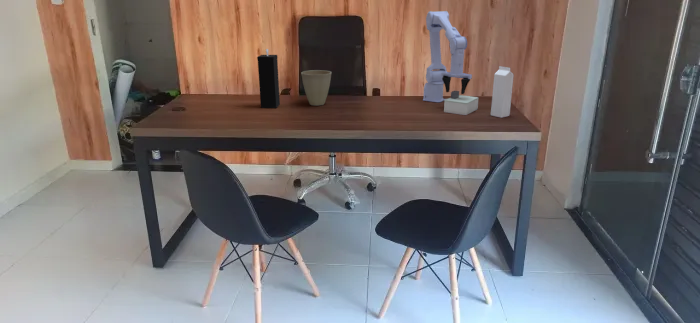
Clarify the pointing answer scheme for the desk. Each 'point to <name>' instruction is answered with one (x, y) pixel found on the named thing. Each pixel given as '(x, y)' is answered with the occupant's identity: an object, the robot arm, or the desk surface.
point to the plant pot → (316, 85)
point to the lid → (460, 98)
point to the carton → (460, 107)
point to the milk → (502, 92)
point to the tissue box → (268, 80)
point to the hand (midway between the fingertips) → (455, 92)
